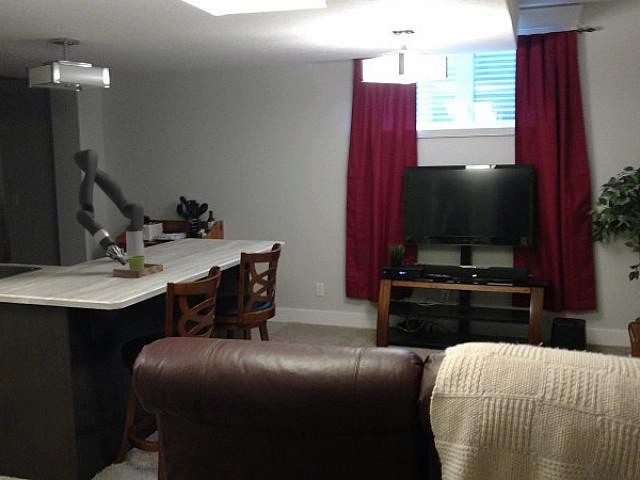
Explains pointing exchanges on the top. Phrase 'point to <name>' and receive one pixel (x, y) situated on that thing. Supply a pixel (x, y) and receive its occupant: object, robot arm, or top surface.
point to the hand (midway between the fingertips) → (125, 264)
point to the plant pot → (136, 262)
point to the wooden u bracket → (139, 271)
